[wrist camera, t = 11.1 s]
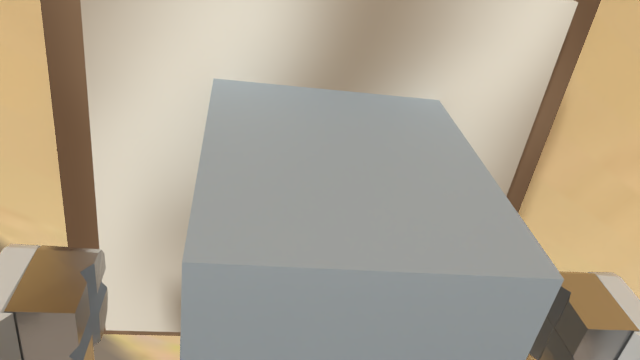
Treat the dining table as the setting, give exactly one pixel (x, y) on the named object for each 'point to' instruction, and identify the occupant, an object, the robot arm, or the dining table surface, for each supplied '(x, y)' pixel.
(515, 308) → the slate block
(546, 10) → the walnut block
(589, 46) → the dining table surface
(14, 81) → the dining table surface
